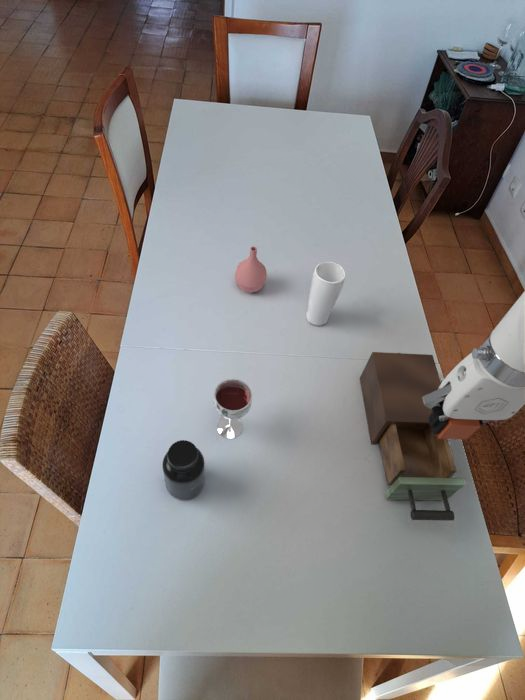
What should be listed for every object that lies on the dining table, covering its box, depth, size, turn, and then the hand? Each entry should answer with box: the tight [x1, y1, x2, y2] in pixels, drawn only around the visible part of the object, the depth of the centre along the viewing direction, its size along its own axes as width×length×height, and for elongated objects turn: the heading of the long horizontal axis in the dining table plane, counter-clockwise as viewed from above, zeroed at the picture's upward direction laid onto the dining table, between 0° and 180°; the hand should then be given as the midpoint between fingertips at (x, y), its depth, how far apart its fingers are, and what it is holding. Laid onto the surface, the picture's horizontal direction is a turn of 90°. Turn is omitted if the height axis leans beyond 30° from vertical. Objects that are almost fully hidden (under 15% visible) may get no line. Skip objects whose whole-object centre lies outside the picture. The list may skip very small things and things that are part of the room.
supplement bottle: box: [162, 439, 206, 501], centre depth 76 cm, size 7×7×12 cm
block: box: [438, 418, 481, 441], centre depth 69 cm, size 4×4×4 cm
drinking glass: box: [305, 261, 347, 327], centre depth 102 cm, size 7×7×15 cm
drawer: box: [379, 423, 466, 522], centre depth 82 cm, size 20×11×8 cm, turn 1°
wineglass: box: [213, 378, 253, 440], centre depth 84 cm, size 7×7×12 cm
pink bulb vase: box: [234, 246, 268, 293], centre depth 107 cm, size 8×8×12 cm
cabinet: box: [359, 351, 442, 445], centre depth 91 cm, size 16×13×10 cm
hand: (450, 425), depth 71 cm, fingers closed on block, 4 cm apart
